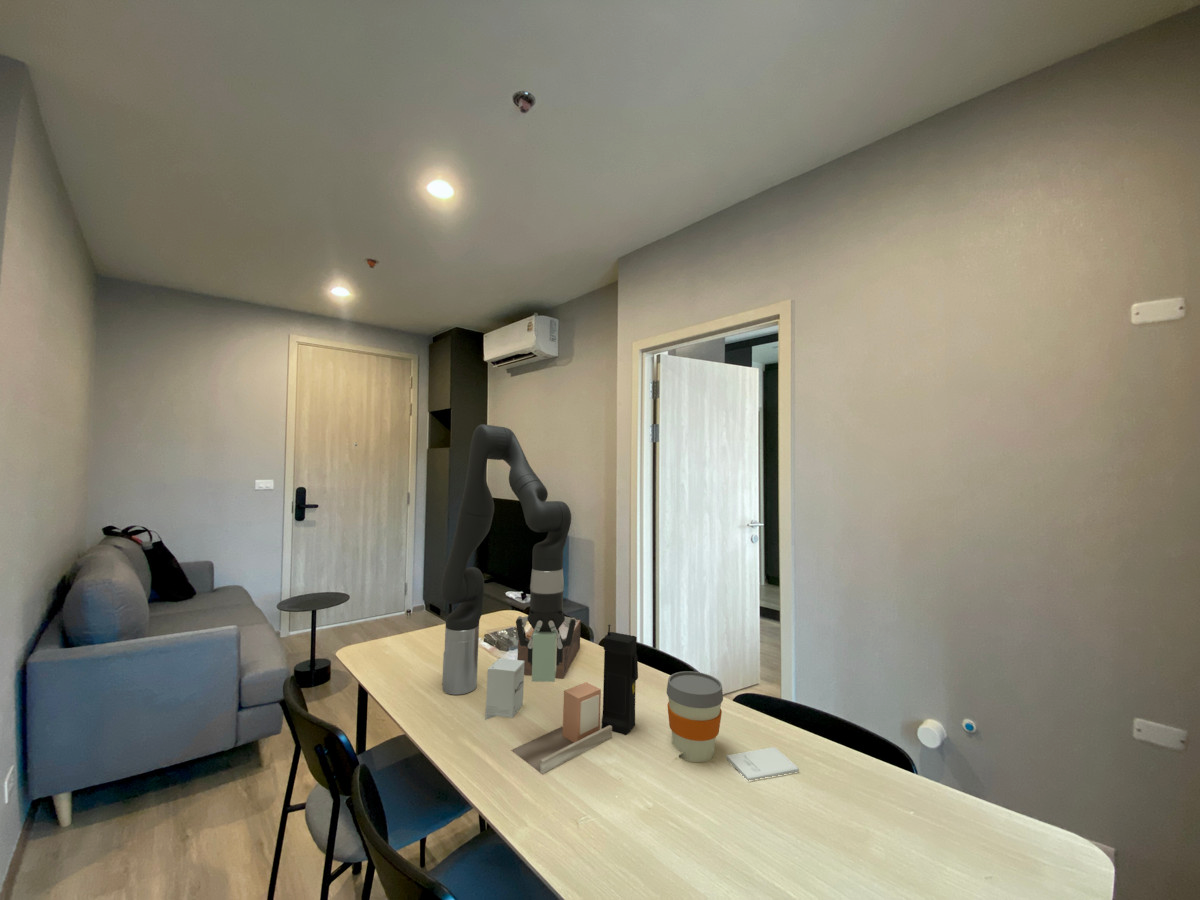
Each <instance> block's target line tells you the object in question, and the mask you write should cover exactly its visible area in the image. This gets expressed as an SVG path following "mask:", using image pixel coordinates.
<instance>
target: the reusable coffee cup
mask: <svg viewBox="0 0 1200 900" xmlns="http://www.w3.org/2000/svg"><path fill="white" fill-rule="evenodd" d="M666 687H667V688H666V695H667V697H668V702H667V705H666V706H667V715H668V724H669V725H668V726H669V729H670V730H671V737H672V738H671V739H672V744H673V746H674V747H675V748H676V749H677V750H678V751H680V752H681V754H679V755H678V757H679V758H680V759H683V760H684V761H687V762H691V763H692V762H693V763H704V762H709V761H710V760H711V759H712V758H713V757H714V755H715V754H714V753H715V749H716V742H717V736H719V734H720V733H719V732H720V728H721V727H720V726H721V719H722V708H721V707H722V706H721V705H722V703H723V700H724V693H723V685H722V682H721V681H720V680H719V679H718V678H716V677H714V676H712V675H710V674H707V673H703V672H700V671H678V672H675V673H672V674H671V675H669V677H668V679H667V686H666Z"/></svg>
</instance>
